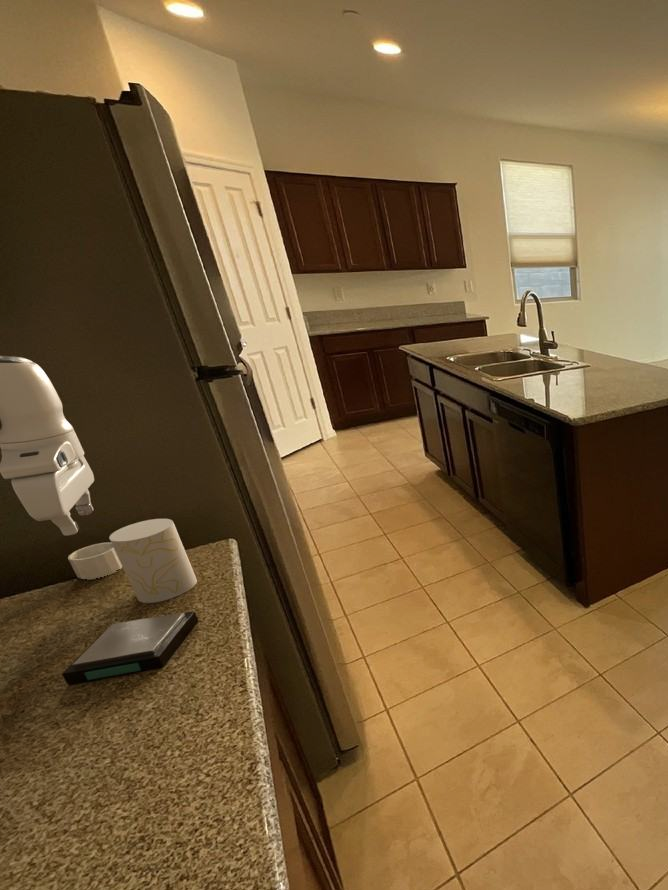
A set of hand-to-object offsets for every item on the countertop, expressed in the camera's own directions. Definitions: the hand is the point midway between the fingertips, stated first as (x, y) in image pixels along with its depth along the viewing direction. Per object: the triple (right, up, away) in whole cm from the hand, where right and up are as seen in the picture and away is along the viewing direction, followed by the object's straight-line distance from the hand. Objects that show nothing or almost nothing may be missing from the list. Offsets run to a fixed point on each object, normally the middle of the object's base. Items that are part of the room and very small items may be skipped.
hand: (79, 523), depth 94 cm
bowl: (0, -9, +4) cm, 10 cm away
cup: (+18, -12, -2) cm, 21 cm away
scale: (+27, -18, -17) cm, 36 cm away
